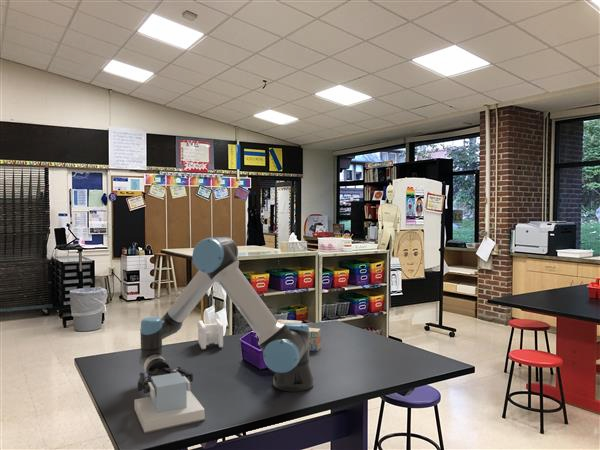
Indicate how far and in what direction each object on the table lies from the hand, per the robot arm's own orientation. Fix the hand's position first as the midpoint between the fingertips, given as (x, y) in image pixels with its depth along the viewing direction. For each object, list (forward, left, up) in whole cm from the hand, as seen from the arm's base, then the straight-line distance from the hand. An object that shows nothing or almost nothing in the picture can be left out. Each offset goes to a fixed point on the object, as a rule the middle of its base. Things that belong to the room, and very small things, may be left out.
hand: (171, 390), depth 143 cm
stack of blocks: (+7, -85, -10) cm, 86 cm away
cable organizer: (+44, -65, -10) cm, 79 cm away
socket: (+4, -2, -10) cm, 10 cm away
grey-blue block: (+4, -2, -9) cm, 10 cm away
